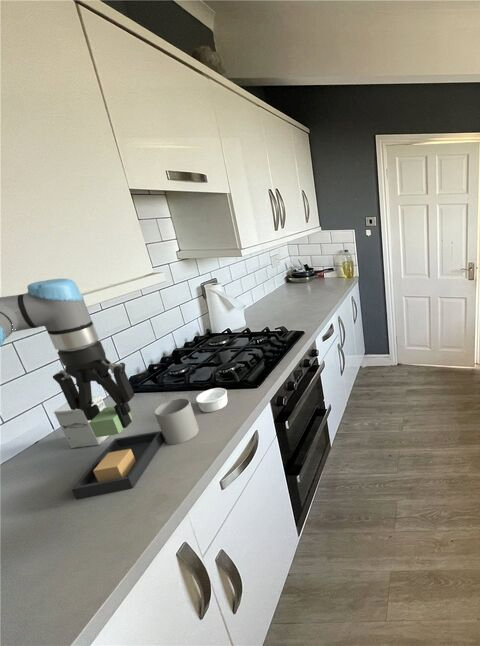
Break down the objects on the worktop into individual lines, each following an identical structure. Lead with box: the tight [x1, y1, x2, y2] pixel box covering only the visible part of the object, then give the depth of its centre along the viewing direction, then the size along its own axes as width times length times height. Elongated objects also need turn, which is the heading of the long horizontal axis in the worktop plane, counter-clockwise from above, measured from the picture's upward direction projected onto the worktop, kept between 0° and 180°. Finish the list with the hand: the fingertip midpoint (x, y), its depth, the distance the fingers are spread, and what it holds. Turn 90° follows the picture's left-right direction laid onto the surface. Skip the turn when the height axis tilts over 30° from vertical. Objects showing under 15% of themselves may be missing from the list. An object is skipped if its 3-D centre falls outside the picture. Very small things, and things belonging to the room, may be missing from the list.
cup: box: [153, 398, 200, 445], centre depth 102 cm, size 8×8×10 cm
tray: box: [70, 430, 165, 500], centre depth 91 cm, size 12×19×3 cm, turn 16°
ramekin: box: [195, 387, 229, 413], centre depth 116 cm, size 9×9×4 cm
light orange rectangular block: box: [93, 449, 136, 482], centre depth 88 cm, size 5×6×4 cm
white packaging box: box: [53, 395, 110, 449], centre depth 100 cm, size 7×7×13 cm
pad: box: [89, 405, 133, 437], centre depth 89 cm, size 5×6×4 cm
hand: (114, 426), depth 90 cm, fingers closed on pad, 5 cm apart
